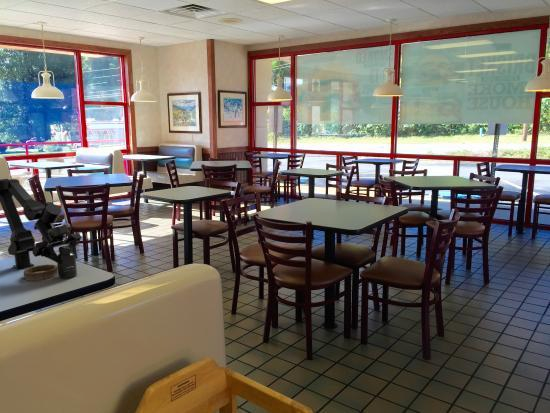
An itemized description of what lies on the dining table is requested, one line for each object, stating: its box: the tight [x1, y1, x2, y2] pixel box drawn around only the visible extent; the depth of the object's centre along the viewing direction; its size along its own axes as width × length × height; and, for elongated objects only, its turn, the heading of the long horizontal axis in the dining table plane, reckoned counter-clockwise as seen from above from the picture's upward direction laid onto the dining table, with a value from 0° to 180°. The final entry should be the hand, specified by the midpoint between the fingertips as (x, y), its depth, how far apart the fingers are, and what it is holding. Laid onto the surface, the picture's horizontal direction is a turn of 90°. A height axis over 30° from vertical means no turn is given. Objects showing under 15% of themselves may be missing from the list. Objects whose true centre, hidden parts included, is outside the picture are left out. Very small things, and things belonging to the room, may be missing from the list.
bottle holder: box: [22, 264, 58, 282], centre depth 187 cm, size 12×12×3 cm
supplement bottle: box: [56, 245, 78, 280], centre depth 184 cm, size 7×7×12 cm
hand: (68, 260), depth 184 cm, fingers closed on supplement bottle, 7 cm apart
